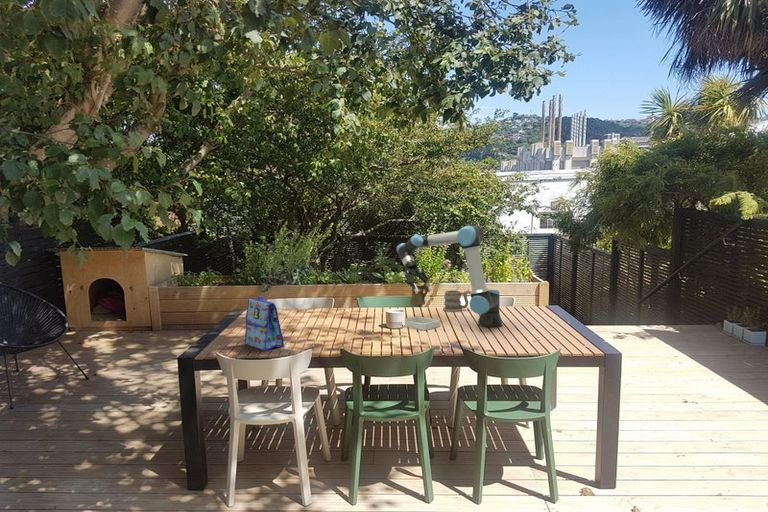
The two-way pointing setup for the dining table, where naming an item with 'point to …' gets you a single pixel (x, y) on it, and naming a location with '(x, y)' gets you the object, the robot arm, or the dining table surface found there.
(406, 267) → the robot arm
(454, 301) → the tankard
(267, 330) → the lunch bag
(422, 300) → the wooden mug
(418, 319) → the mug tray
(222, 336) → the dining table surface
